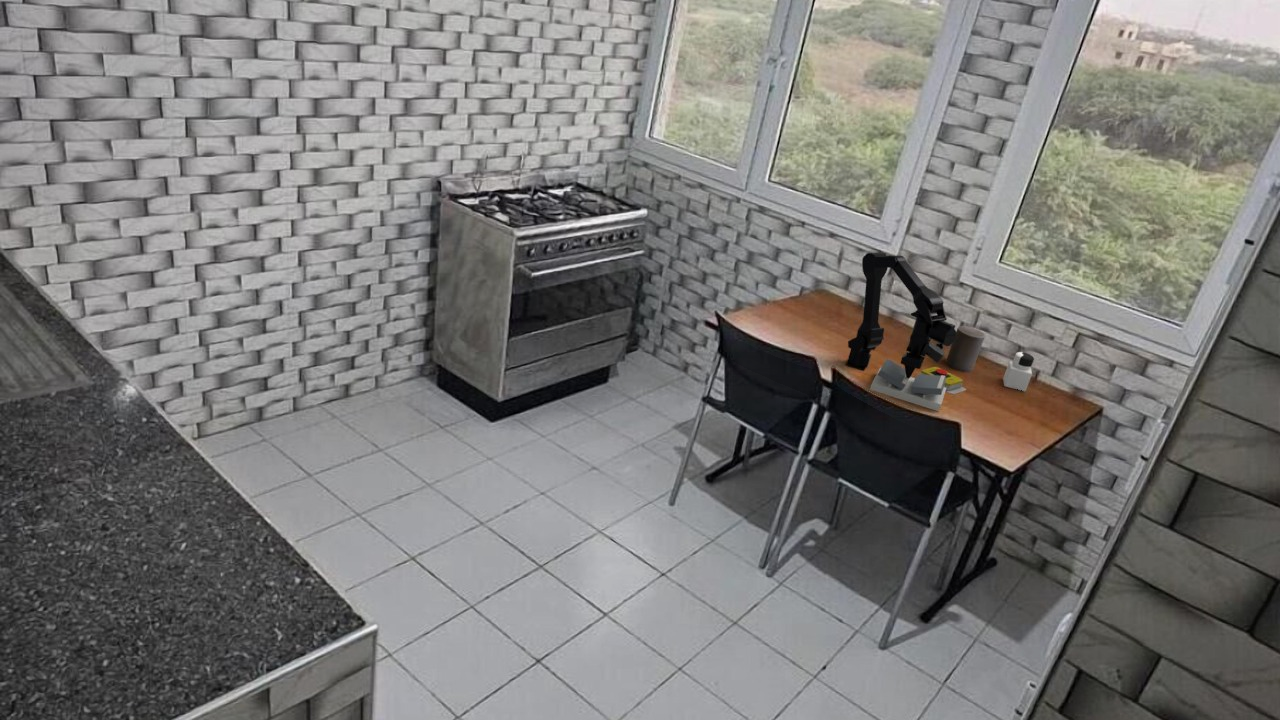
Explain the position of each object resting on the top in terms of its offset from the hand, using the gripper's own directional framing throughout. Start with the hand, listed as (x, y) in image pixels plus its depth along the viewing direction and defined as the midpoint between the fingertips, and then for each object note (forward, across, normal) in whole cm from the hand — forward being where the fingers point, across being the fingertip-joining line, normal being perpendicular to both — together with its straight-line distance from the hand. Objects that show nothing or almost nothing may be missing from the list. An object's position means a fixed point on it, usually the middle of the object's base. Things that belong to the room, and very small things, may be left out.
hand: (908, 377), depth 272 cm
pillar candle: (+6, +40, -14) cm, 42 cm away
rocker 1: (0, 0, +4) cm, 4 cm away
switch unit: (+5, +1, -1) cm, 6 cm away
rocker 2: (0, 0, -7) cm, 7 cm away
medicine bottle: (+6, +37, -33) cm, 50 cm away
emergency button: (+6, +18, -10) cm, 22 cm away
